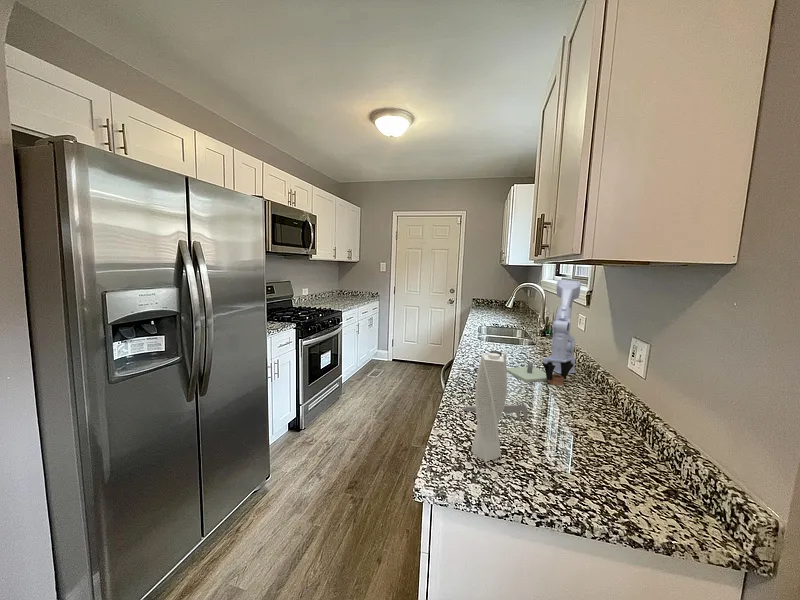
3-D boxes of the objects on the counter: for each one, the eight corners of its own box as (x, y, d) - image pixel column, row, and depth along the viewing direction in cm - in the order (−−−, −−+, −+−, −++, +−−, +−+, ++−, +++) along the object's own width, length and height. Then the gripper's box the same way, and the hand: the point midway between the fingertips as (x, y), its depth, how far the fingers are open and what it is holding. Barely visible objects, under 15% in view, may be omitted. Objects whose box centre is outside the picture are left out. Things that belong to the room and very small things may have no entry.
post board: (532, 369, 163) (533, 357, 162) (556, 380, 148) (557, 367, 147) (504, 370, 158) (505, 358, 158) (525, 382, 143) (527, 369, 142)
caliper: (526, 420, 107) (527, 401, 106) (526, 422, 106) (528, 403, 105) (462, 409, 113) (463, 391, 113) (461, 410, 112) (463, 392, 112)
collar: (556, 380, 147) (557, 373, 147) (566, 385, 142) (566, 378, 142) (545, 381, 146) (546, 374, 145) (555, 385, 140) (555, 378, 140)
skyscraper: (508, 459, 84) (518, 351, 81) (486, 467, 80) (496, 353, 77) (486, 444, 91) (494, 343, 88) (465, 450, 87) (472, 345, 84)
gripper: (552, 350, 136) (548, 383, 138) (580, 350, 141) (577, 381, 142) (540, 346, 143) (537, 377, 144) (567, 345, 147) (564, 375, 149)
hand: (556, 378), depth 144 cm, fingers open, 7 cm apart
